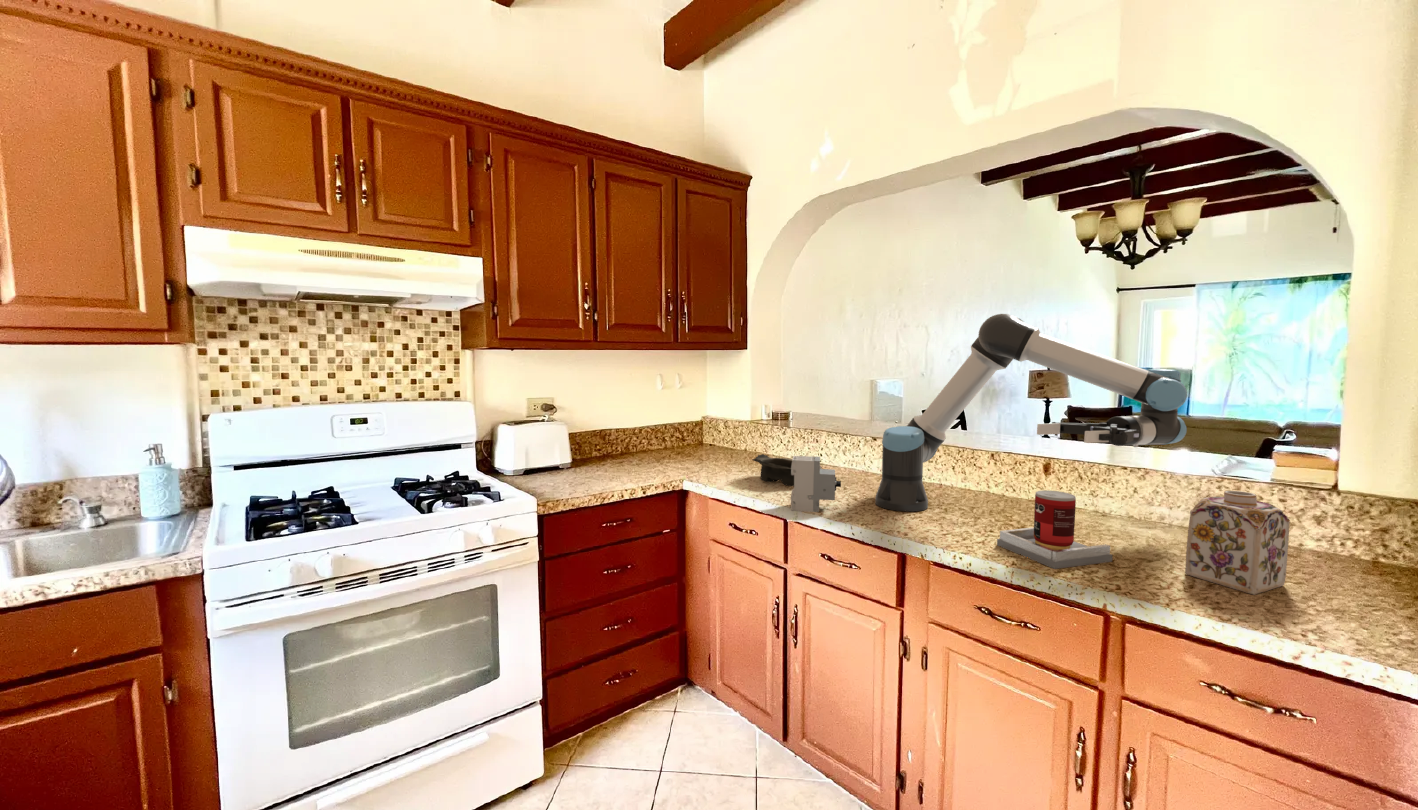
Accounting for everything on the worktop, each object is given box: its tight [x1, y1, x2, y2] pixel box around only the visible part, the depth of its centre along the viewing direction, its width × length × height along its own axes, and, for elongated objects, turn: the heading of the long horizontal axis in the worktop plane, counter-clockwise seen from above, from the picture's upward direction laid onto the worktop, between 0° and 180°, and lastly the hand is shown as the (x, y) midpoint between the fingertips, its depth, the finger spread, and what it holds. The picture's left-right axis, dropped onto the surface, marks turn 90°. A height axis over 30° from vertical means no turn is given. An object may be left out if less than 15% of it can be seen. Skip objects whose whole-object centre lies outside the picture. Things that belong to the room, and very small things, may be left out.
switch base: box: [996, 526, 1113, 570], centre depth 130 cm, size 16×16×4 cm
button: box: [1035, 540, 1071, 550], centre depth 130 cm, size 7×7×2 cm
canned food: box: [1033, 489, 1077, 547], centre depth 129 cm, size 8×8×11 cm
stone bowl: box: [751, 454, 823, 487], centre depth 206 cm, size 25×25×9 cm
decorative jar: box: [1184, 490, 1291, 595], centre depth 114 cm, size 12×12×18 cm
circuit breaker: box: [790, 455, 842, 513], centre depth 168 cm, size 8×14×15 cm, turn 78°
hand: (1060, 432), depth 139 cm, fingers open, 13 cm apart
